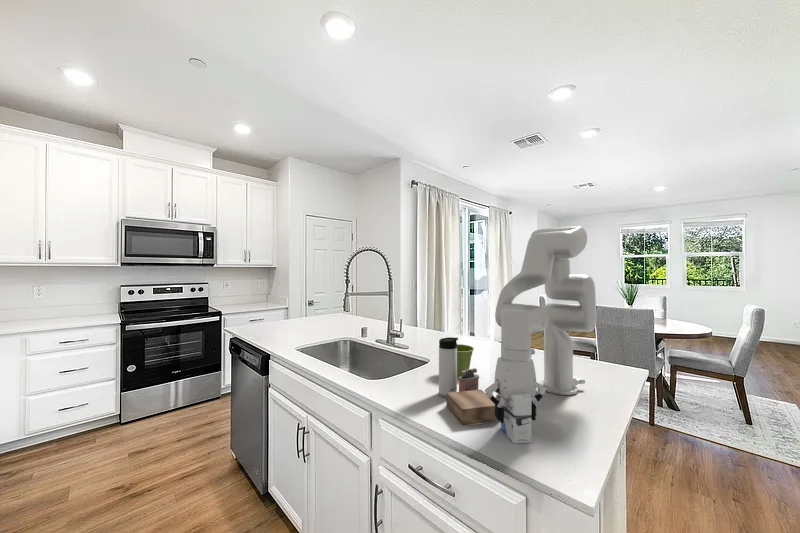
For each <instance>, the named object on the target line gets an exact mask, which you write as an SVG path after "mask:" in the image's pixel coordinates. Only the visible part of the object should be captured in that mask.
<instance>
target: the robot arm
mask: <svg viewBox="0 0 800 533" xmlns="http://www.w3.org/2000/svg"><path fill="white" fill-rule="evenodd" d="M587 242H588V234H587V232H586V229H585V228H584V227H583V226H580V225H578V226H577V225H576V226H575V225H572V226H561V227H547V228H546V227H545V228H539V229H537V230H534V231H532V233H531V235H530V236H529V239H528V241H527V245H526V248H525V253H524V258H523V261H522V265H521V269H520V272H519V273H518V274H516V275H515V276H513V278H512V279H510V280H509V281H508V282H507V283H506V284H505V285H504V286H503V287H502V289H501V290H500V292H499V296H498V299H497V303H496V307H495V314H494V317H495V318H494V319H495V322H496V324H497V325H498V326H499V327H501V328H500V357H498V358H497V361H496V366H495V372H494V381H493V383H492V384H490V385H489V386H488V387H486V388H485V389H484V392H485V393H486V394H487V395H488V397H489V399H490V400H491V401H492V402H493V403H494V404H495V417H496V418H497V419H498V420H499V423H500V424H501V423H503V422H504V408H503V407H502V405H503V404H504V402H505V401H506V399H510V397H511V395H516V394H529V395H530V396H531V399H532V406H531V421H533V422H534V421H536V418H537V417H536V416H537V406H538V405H539V402H540V401H541V400H542V399H543V395H544V394H545V392H548V393H551V394H555V395H561V396H572V395H573V396H574V395H576V394H577V393H578V392H579V389H578V387H577V385H584V384H586V380H585V379H584V378H577V376H574V342H573V340H572V337H571V336H570V335H569V333H568V332H567V331H573V332H581V333H591V332H593V331H595V328H596V325H597V306H596V305H597V301H596V299H597V297H596V286H595V285H596V284H595V282H594V279H593V277H591V275H588V274H575V273H574V274H572V273H571V263H570V259H572V258H575V257H578V256H579V255H580V254H581V253H582V252H583V251H584V250H585V249H586V246H587ZM543 285H544V292H545V295H546V297H547V298H548V299H550V300H555V301H563V302H564V301H566V302H567V301H569V302H576V303H578V304H574V303H563V302H562V303H561V302H549V303H546V304H545V305H544V306H543V307H542V306H540V305H533V304H525V303H524V304H523V303H522V304H521V303H513V301H514V300H515V299H516V298H517V297H518V296H519V295H520V294H523V293H524V292H527V291H529V290H532V289H535V288H537V287H541V286H543ZM541 332H543V342H544V344H543V346H544V347H543V348H544V349H543V351H544V352H543V360H544V361H543V365H544V366H543V368H544V369H543V380H541V381H540V382H538V381H537V374H536V368H535V363H534V359H532V355H535V354H536V350H535V349H534V348H532V334H533V333H534V334H537V333H541ZM494 392H495V393H496V395H495V396H494Z"/></svg>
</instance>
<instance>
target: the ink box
mask: <svg viewBox="0 0 800 533" xmlns="http://www.w3.org/2000/svg"><path fill="white" fill-rule="evenodd" d="M531 406H532V399H531V396H530V395H529V394H516V395H511V397H510V399H506V401H505V402H504V404H503V405H502V407H503V408H504V422H503V423H500V428H502V430H503V432H505V434H506V435H507V436H508V437H509V439H510V440H511V441H512V442H513V444H526V443H527V444H532V434H533V433H532V420H531Z"/></svg>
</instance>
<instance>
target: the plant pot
mask: <svg viewBox="0 0 800 533" xmlns="http://www.w3.org/2000/svg"><path fill="white" fill-rule="evenodd" d="M474 350H475V347H474V346H471V345H467V344H460V343H457V378H458V377H461V376H462V371H464V370H465V369H469V370H470V369H471V368H470V367H471V361H472V356H473V353H474Z"/></svg>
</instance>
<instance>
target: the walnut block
mask: <svg viewBox="0 0 800 533" xmlns="http://www.w3.org/2000/svg"><path fill="white" fill-rule="evenodd" d="M445 399H446V402H445V403H446V405H445V407H446V409H447V410H448V411H449V412H450V414H451V415H453V417H454V418H455V419H456V420H457V422H459V424H460V425H461V426H462V427H463V426H472V425H473V426H474V425H480V424H488V423H489V424H490V423H495V422H496V423H498V422H499V423H500V421H499V420H498V419H497V418H496V417H495V404H494V403H493V402H492V401H491V400H490V399H489V397H488V395H487V394H486V392H485V391H483V390H482V389H478V390H471V391H460V392H459V391H457V392H449V393H446V398H445Z"/></svg>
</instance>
